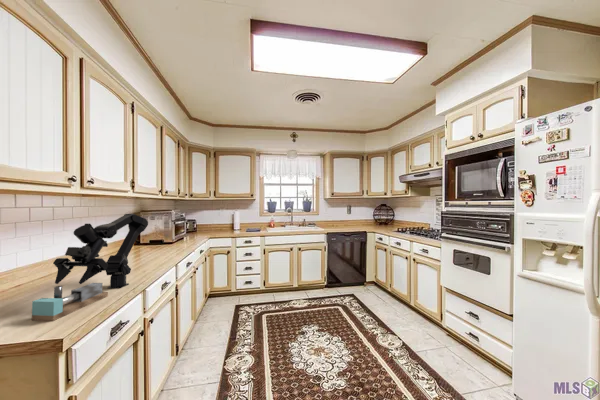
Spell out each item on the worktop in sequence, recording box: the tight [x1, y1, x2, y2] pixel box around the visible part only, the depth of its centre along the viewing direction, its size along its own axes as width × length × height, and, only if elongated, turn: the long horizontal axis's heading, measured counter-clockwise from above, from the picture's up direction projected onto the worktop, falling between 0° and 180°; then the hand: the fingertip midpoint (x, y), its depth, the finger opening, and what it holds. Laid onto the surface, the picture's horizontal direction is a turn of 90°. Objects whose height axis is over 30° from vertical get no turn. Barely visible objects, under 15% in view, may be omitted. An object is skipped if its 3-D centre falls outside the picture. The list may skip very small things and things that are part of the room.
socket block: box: [31, 297, 63, 316], centre depth 89 cm, size 3×8×5 cm, turn 87°
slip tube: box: [53, 285, 81, 305], centre depth 96 cm, size 13×3×8 cm, turn 178°
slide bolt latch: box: [31, 282, 109, 322], centre depth 99 cm, size 24×8×6 cm, turn 178°
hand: (67, 283), depth 97 cm, fingers open, 9 cm apart
